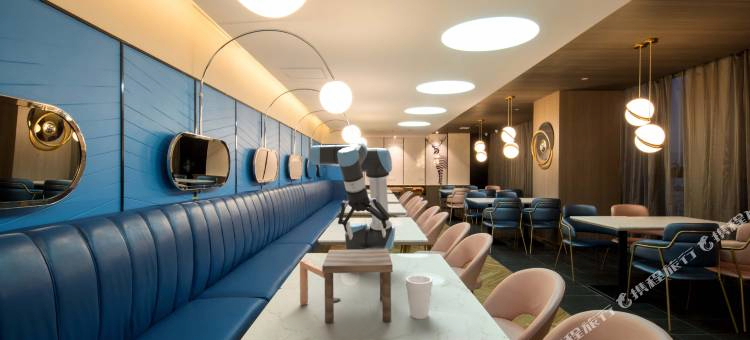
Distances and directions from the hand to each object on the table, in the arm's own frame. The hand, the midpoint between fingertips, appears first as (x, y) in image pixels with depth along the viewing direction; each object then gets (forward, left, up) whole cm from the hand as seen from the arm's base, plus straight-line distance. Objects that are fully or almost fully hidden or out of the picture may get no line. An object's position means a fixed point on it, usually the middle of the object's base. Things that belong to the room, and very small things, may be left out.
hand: (367, 236), depth 140 cm
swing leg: (+6, -21, -26) cm, 33 cm away
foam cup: (+12, +18, -27) cm, 34 cm away
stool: (+6, -4, -26) cm, 27 cm away
